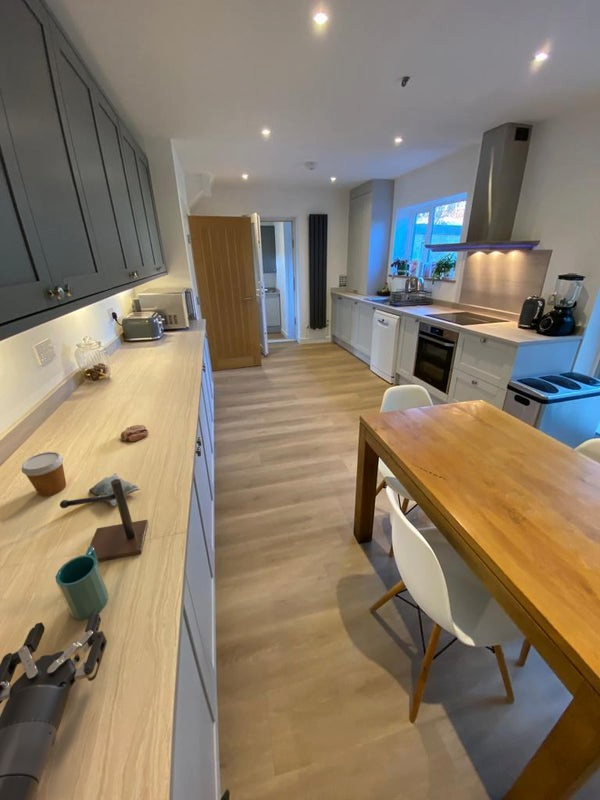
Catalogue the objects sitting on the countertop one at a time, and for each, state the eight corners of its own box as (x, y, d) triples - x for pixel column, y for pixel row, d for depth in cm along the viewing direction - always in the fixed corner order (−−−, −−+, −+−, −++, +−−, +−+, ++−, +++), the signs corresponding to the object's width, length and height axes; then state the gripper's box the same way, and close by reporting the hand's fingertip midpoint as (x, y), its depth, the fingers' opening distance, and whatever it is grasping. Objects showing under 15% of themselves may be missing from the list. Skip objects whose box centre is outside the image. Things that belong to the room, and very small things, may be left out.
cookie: (149, 427, 133) (147, 420, 132) (148, 439, 124) (147, 432, 123) (122, 431, 130) (120, 425, 128) (120, 444, 121) (118, 437, 119)
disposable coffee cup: (79, 491, 97) (67, 457, 92) (42, 509, 90) (27, 474, 85) (65, 479, 102) (53, 447, 97) (29, 496, 95) (14, 462, 90)
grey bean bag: (118, 480, 102) (114, 467, 99) (141, 493, 96) (138, 480, 94) (89, 496, 95) (85, 483, 93) (113, 512, 89) (108, 498, 87)
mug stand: (148, 522, 86) (134, 466, 78) (141, 553, 77) (125, 493, 69) (84, 534, 82) (63, 476, 75) (69, 567, 73) (44, 506, 66)
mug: (103, 615, 64) (90, 580, 60) (65, 624, 62) (49, 589, 58) (116, 569, 73) (106, 536, 69) (84, 575, 71) (71, 542, 67)
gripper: (75, 709, 43) (107, 595, 57) (-56, 746, 40) (13, 616, 54) (89, 735, 46) (117, 621, 60) (-30, 772, 43) (29, 642, 57)
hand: (68, 619), depth 57 cm, fingers open, 8 cm apart
